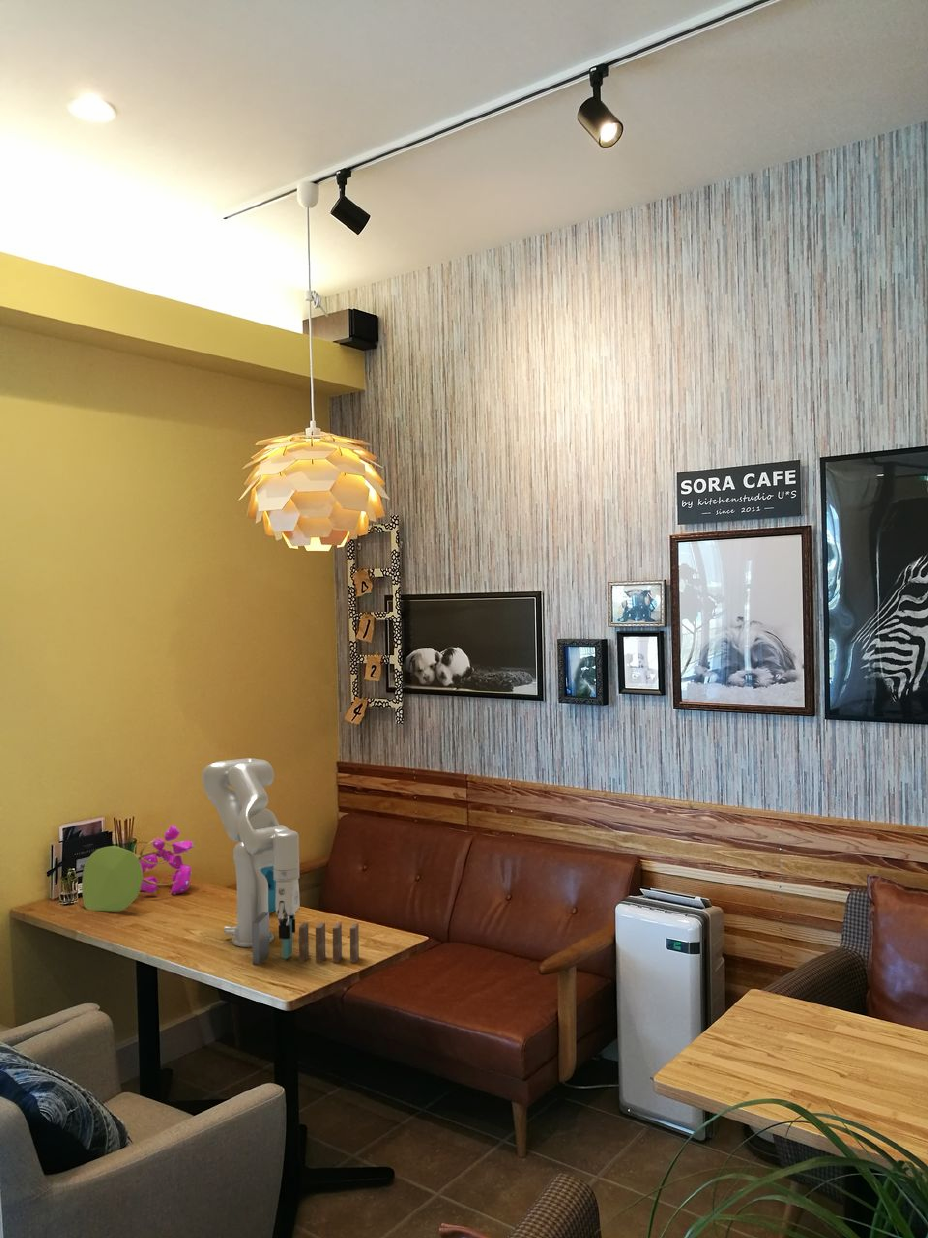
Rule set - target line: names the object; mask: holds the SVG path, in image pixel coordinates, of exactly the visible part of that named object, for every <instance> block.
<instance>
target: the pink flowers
mask: <svg viewBox="0 0 928 1238" xmlns="http://www.w3.org/2000/svg"><path fill="white" fill-rule="evenodd" d="M179 835H180V830H179V829H178V828H177V826H176V825H173V824H172V825H170V827H169V828H167V830H166V831H165V833H164V834H163V835H160V836H158V837H155V838H154V839H152V840H151V841H149V842H145V841H139V842H136V844H135V845H134V847H133V852H132V851H130V850H128V849H125V848H122V847H119V846H116V845H113V846H112V845H111V846H104V847H101V848H97V849H96V850H94V851H93V852H92V853H91V854H90V855H89V856H88V858H87V859H86V860H85V864H84V868H83V873H82V883H81V891H82V892H81V893H82V899H83V904H84V907H85V909H86V910H87V911H94V912H108V913H109V912H110V913H111V912H112V913H113V912H114V913H117V912H122V911H125V910H126V909H127V908H129V907H130V906H131V904H132V903H134V901H136V899H138V898H137V897H139V895H140V893H141V891H143V892H145V893H148V894H153V893H156V891H157V890H158V888H159V887H165V886H170V885H172V887H171V891H170V892H171V894H173V895H174V896H175V895H177V894H182V893H185V892H186V891H187V890H188V888H189V887H190V883H191V875H192V874H193V872H192V866H190V865H188V864H184V863H183V858H182V856H181V855H180V854H183V853H188V852H189V850H191V849H193V848H194V841H192V840H182V841H177V842H172V843H171V844H172V845H171V844H169V843H166V842H171V841H174V840H176V839H177V838H178V837H179ZM162 838H164V840H163V839H162ZM165 841H166V842H165ZM141 843H142V844H143V843H144V844H145V845H144V846H143V847H142V849H141V850H140V852H139V854H136V847H137V846H138V845H139V844H141ZM151 844H152V847H153V848H154V849H156V850H157V851H148V852H145V850H146V848H147V847H148V846H149V845H151ZM166 846H169V847H171V849H172V850H173V851H171V850H166V849H165V847H166ZM158 858H160V859H163V860H160V861H159V862H158ZM166 863H168V865H169V866H170V867H172V869H174V870H176V871H175V872H174V873H172V874H171V875H165V876H164V877H163V878H162V879H161V881H160V883H159V880H158V879H157V878H156V877H155V876H149V877H144V873H145V872H146V870H150V871H151V870H153V869H154V868H155V867H156V866H157V865H162V864H166ZM170 876H171V877H172V882H171V883H162V882H163V880H164V879H165V878H167V877H170Z"/></svg>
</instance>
